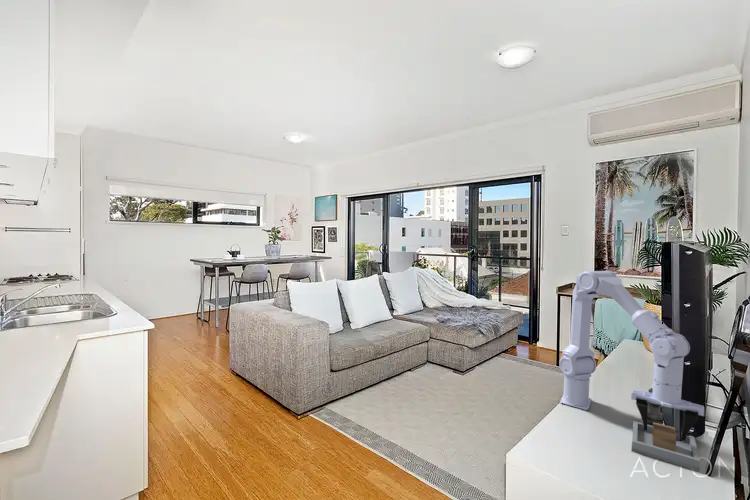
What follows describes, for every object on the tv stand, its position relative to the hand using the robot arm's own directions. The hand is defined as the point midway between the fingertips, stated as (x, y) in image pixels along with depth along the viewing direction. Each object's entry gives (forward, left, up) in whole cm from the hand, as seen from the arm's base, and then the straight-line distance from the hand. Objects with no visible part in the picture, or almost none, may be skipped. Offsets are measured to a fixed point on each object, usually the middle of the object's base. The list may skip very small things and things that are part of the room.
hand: (663, 433), depth 95 cm
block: (0, 0, -3) cm, 3 cm away
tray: (0, 0, -4) cm, 4 cm away
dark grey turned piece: (-12, -2, -4) cm, 13 cm away
